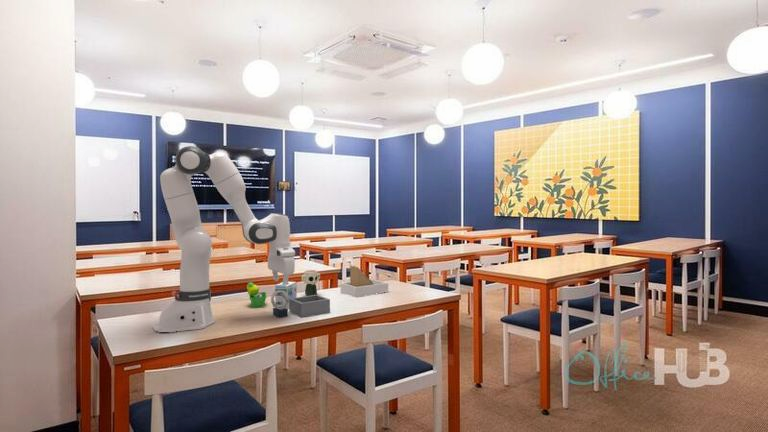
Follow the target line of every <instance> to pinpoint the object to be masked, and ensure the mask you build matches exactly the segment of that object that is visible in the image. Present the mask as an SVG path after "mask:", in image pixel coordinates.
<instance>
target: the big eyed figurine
mask: <svg viewBox="0 0 768 432" xmlns="http://www.w3.org/2000/svg"><path fill="white" fill-rule="evenodd" d="M318 271H319V270H315V269H308V270H307V269H306V270H304V271H303V274H302V275H301V282H304V284H305V290H304V291H305V292H304V294H305V295H304V296H311V295H318V290H317V285H316V284H317V283H318V281H319V280H320V279H321V273H320V272H319V273H318Z"/></svg>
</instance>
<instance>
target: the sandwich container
mask: <svg viewBox="0 0 768 432" xmlns="http://www.w3.org/2000/svg"><path fill="white" fill-rule="evenodd" d="M349 268H350V269H349V273H350V275H349V279H350V280H349V282H350V285H351V286H354V287H361V286H368V285H374V284H373V283H372V281H371V280H370V278H369V277H368V276H367V275H366V274H365V273H364V272H363V271H362V270H361V268H359V267H358V266H355V265H349Z"/></svg>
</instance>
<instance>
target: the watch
mask: <svg viewBox="0 0 768 432" xmlns="http://www.w3.org/2000/svg"><path fill="white" fill-rule="evenodd" d="M279 292H281V296H282V297H283V299H284V300H285V301H286V303H285V305H284V306H283V307H278V308H277V305H276V304H275V295H276V294H277V293H279ZM289 300H290V297H289V295H288V294H287V293H286V292H285V291H281V290H278V291H276V292H275V291H274V292H273V293H272V295H271V297H270V302H271V304H272V307H274V308H272V316H274V317H275V318H277V319H281V318H287V317H288V316H289V310H288V309H289V308H286V307H287V306H288V304H289Z"/></svg>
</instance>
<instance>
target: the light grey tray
mask: <svg viewBox="0 0 768 432" xmlns="http://www.w3.org/2000/svg"><path fill="white" fill-rule="evenodd" d="M369 279H370V278H369ZM370 280H371V281H372V283H373V284H374V285H368V286H361V287H354V286H351V285H350V281H348V282H340V293H341V294H344V295H347V296H350V295H351V296H350V297H353V296H354V298H360V296H361V297H366V296H365V295H367V296H371V295H370V294H374V295H377V294H376V293H380V294H385V293H384V292H386V293H389V282H386V281H381V280H378V279H377V280H376V279H373V278H372V279H370Z"/></svg>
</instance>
